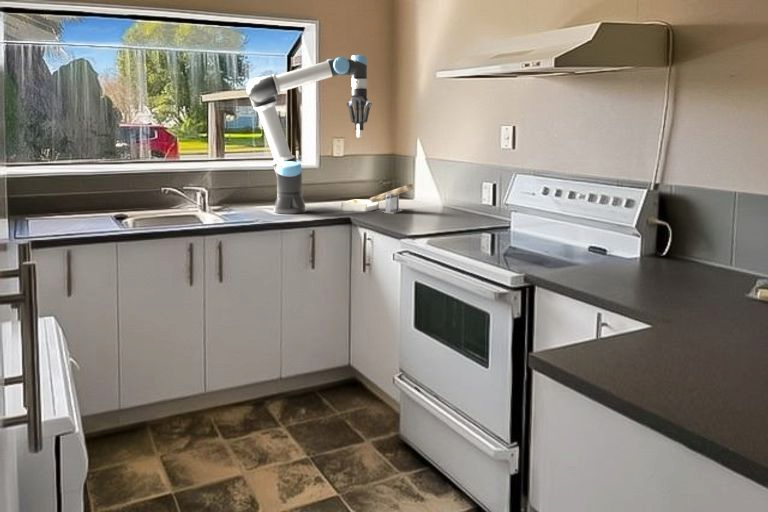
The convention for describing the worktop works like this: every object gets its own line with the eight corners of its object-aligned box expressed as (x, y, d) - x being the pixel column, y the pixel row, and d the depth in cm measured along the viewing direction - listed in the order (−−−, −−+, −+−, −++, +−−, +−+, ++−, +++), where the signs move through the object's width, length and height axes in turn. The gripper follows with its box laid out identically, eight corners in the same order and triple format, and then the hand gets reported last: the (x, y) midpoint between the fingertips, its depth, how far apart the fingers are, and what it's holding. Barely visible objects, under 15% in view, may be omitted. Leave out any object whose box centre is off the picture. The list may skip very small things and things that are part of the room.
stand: (381, 212, 351) (381, 193, 349) (391, 209, 361) (391, 191, 359) (393, 213, 349) (393, 193, 347) (402, 210, 359) (402, 191, 357)
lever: (370, 203, 355) (368, 198, 355) (382, 200, 367) (380, 195, 367) (407, 190, 346) (406, 185, 345) (418, 187, 358) (417, 182, 358)
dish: (341, 210, 358) (341, 202, 357) (354, 207, 371) (354, 199, 370) (366, 212, 353) (366, 203, 352) (378, 208, 365) (378, 200, 365)
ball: (348, 202, 362) (354, 200, 360) (351, 201, 365) (357, 199, 363) (350, 209, 362) (356, 206, 360) (353, 208, 365) (359, 206, 364)
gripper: (343, 87, 360) (343, 137, 364) (367, 87, 355) (367, 137, 359) (350, 88, 367) (350, 136, 371) (374, 88, 361) (374, 137, 366)
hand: (359, 137), depth 365 cm, fingers closed
